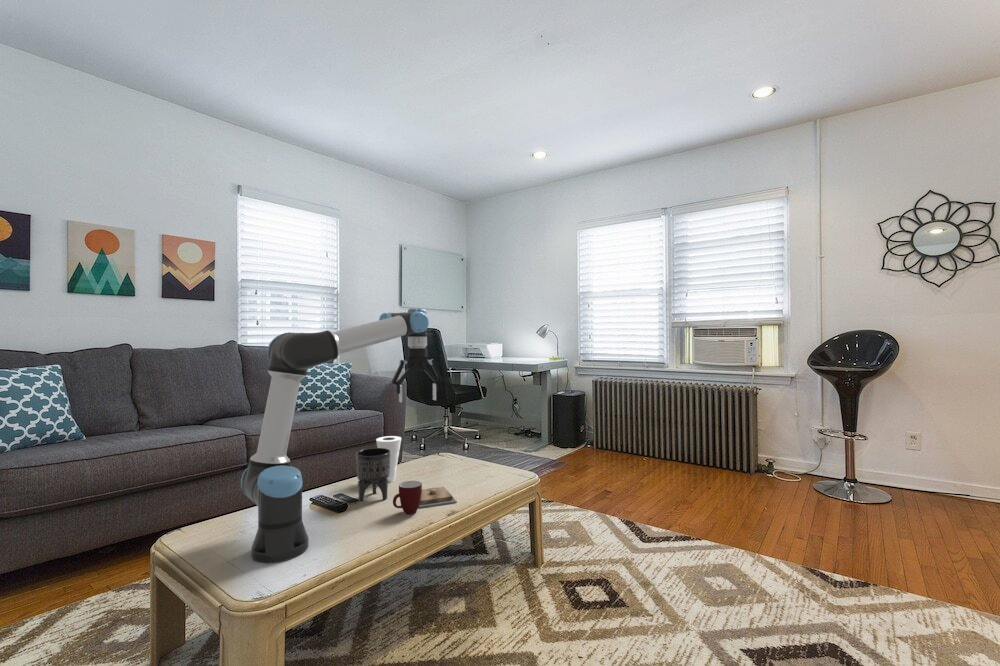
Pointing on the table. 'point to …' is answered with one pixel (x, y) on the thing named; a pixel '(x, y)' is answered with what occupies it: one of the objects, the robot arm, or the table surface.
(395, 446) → the paper towel roll
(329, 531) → the table surface
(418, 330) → the robot arm
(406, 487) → the mug
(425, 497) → the lid
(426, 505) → the mat
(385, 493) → the planter
